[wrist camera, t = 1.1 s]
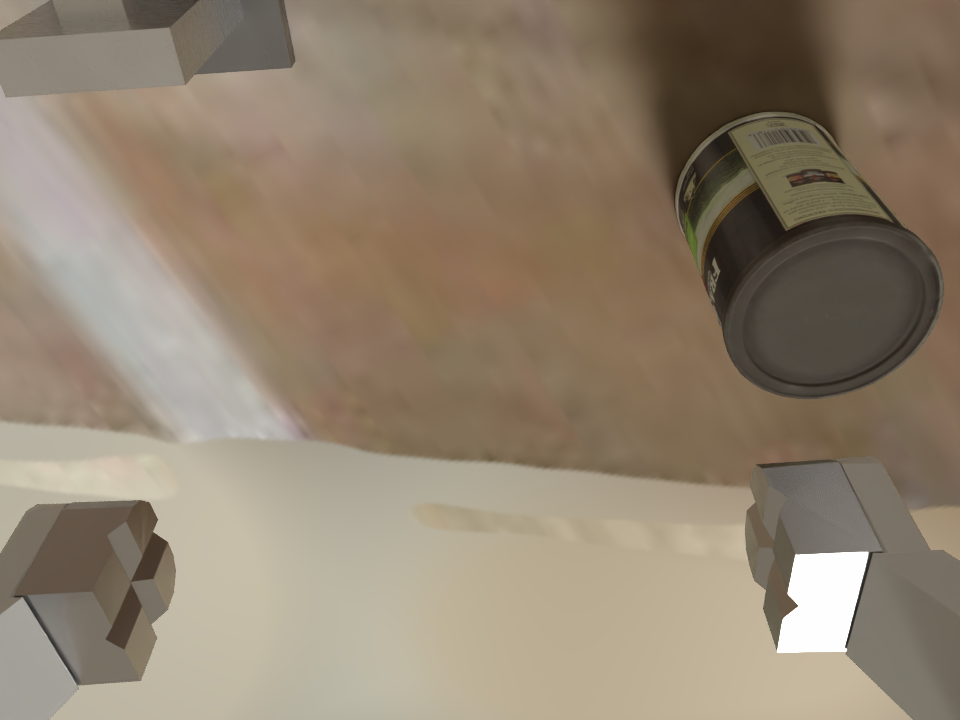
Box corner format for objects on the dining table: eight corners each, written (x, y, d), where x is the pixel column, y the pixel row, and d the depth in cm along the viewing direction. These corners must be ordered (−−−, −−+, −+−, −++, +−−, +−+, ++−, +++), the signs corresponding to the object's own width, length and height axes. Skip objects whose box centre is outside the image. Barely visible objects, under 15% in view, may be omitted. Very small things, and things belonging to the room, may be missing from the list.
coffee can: (710, 288, 57) (765, 428, 45) (648, 162, 51) (692, 284, 40) (865, 219, 53) (966, 350, 42) (815, 77, 48) (915, 183, 37)
